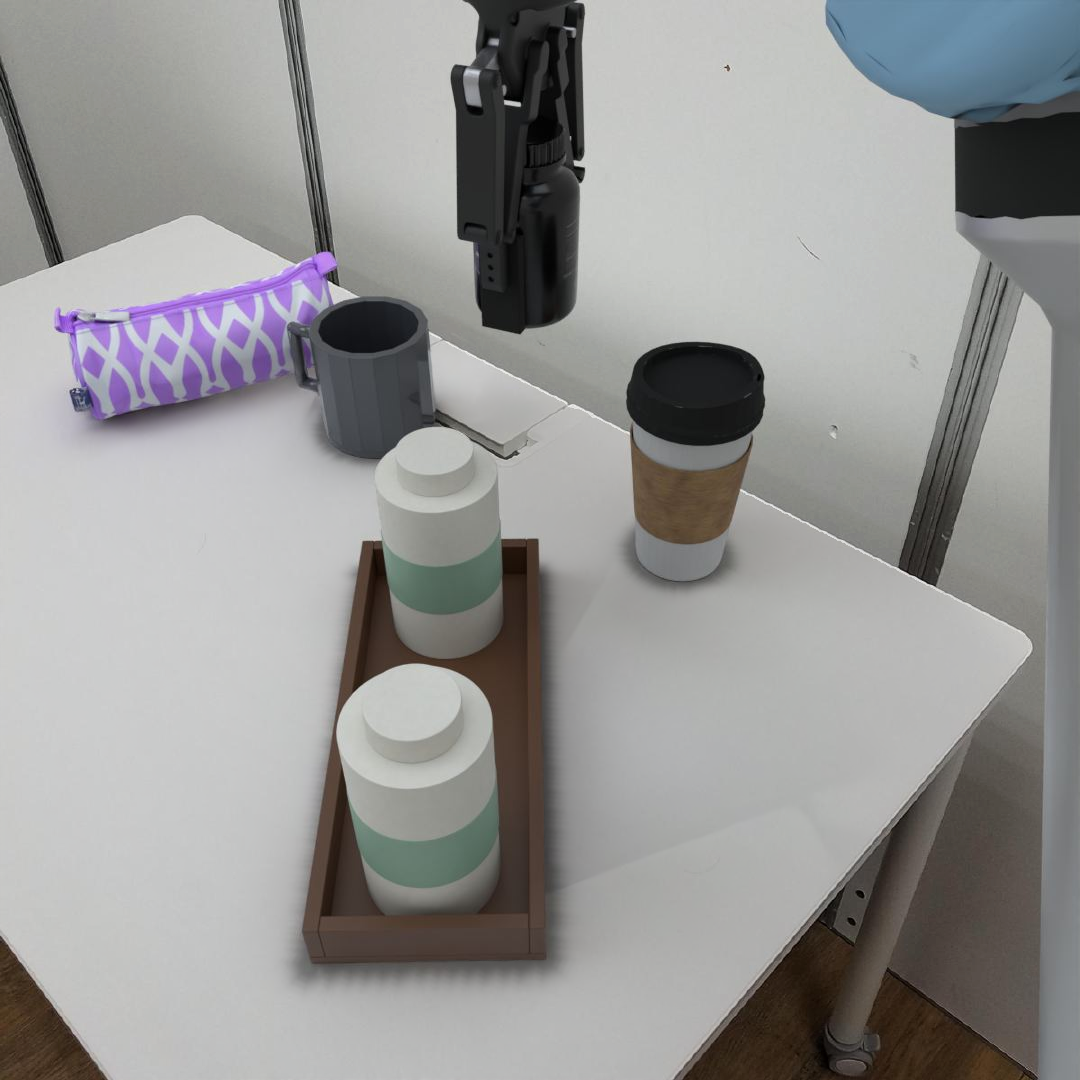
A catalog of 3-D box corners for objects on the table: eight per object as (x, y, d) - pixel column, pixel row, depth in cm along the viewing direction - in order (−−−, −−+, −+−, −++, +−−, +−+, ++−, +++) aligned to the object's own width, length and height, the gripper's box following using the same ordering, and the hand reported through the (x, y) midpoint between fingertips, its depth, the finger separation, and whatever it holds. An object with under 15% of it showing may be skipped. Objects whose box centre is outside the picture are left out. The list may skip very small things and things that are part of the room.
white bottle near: (521, 902, 57) (515, 736, 48) (386, 951, 55) (353, 788, 46) (475, 793, 62) (462, 623, 52) (350, 835, 60) (313, 666, 51)
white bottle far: (520, 641, 70) (515, 471, 61) (412, 673, 68) (390, 503, 59) (482, 568, 75) (473, 401, 66) (380, 596, 73) (356, 429, 64)
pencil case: (87, 447, 86) (50, 342, 80) (71, 385, 92) (35, 283, 86) (361, 378, 93) (347, 276, 86) (329, 324, 99) (314, 225, 93)
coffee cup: (730, 606, 73) (759, 419, 63) (604, 581, 75) (613, 396, 65) (748, 524, 79) (778, 342, 69) (632, 502, 81) (644, 322, 71)
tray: (539, 571, 75) (538, 537, 73) (545, 959, 55) (545, 927, 53) (367, 574, 75) (362, 540, 73) (310, 963, 55) (301, 931, 53)
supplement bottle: (468, 329, 73) (457, 148, 65) (484, 278, 78) (476, 104, 70) (573, 335, 72) (575, 153, 64) (582, 283, 77) (586, 108, 69)
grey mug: (454, 407, 90) (447, 309, 84) (403, 469, 84) (391, 368, 78) (329, 376, 93) (314, 279, 87) (272, 433, 87) (251, 334, 81)
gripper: (529, -129, 67) (534, 228, 82) (364, -45, 54) (407, 363, 69) (647, -119, 65) (630, 246, 80) (506, -28, 51) (517, 389, 67)
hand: (527, 299), depth 74 cm, fingers closed on supplement bottle, 7 cm apart
